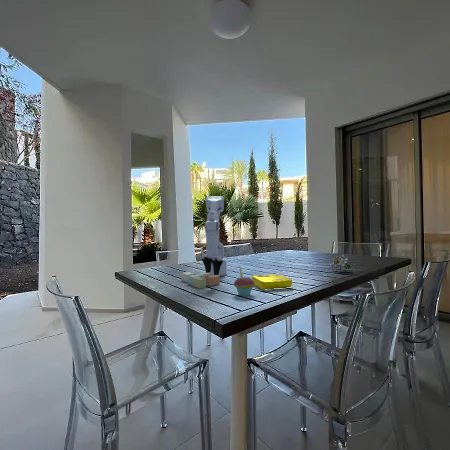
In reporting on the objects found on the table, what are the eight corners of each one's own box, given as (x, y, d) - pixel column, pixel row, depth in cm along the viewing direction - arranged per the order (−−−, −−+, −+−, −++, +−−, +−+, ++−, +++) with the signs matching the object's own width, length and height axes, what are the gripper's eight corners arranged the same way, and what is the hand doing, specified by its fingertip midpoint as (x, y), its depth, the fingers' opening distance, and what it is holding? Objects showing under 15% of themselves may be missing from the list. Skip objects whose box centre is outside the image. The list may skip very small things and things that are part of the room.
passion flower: (335, 280, 174) (324, 263, 179) (347, 275, 179) (336, 258, 184) (348, 272, 165) (335, 254, 170) (360, 267, 170) (348, 250, 175)
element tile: (262, 291, 129) (262, 280, 129) (250, 284, 143) (250, 274, 143) (293, 289, 133) (293, 278, 133) (279, 282, 147) (279, 273, 147)
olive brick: (192, 286, 139) (192, 277, 139) (198, 285, 141) (198, 276, 141) (199, 288, 134) (199, 279, 134) (206, 287, 136) (205, 278, 136)
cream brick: (203, 279, 154) (203, 272, 154) (209, 279, 154) (209, 271, 154) (203, 282, 148) (203, 274, 148) (210, 282, 148) (210, 274, 148)
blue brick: (198, 282, 147) (197, 274, 147) (202, 283, 145) (202, 275, 145) (188, 284, 143) (188, 276, 143) (192, 285, 141) (192, 277, 140)
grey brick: (182, 280, 152) (182, 272, 152) (188, 279, 154) (188, 272, 154) (187, 282, 147) (187, 274, 147) (193, 281, 149) (193, 273, 149)
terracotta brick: (215, 283, 145) (215, 275, 145) (219, 284, 142) (219, 276, 142) (205, 284, 142) (205, 276, 142) (208, 286, 139) (208, 277, 139)
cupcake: (240, 298, 117) (240, 268, 117) (230, 293, 125) (230, 265, 124) (258, 295, 121) (258, 266, 121) (247, 291, 129) (247, 263, 128)
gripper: (197, 245, 146) (197, 272, 146) (212, 247, 134) (213, 277, 134) (209, 244, 150) (209, 270, 150) (225, 246, 137) (225, 275, 138)
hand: (212, 273), depth 142 cm, fingers open, 7 cm apart
